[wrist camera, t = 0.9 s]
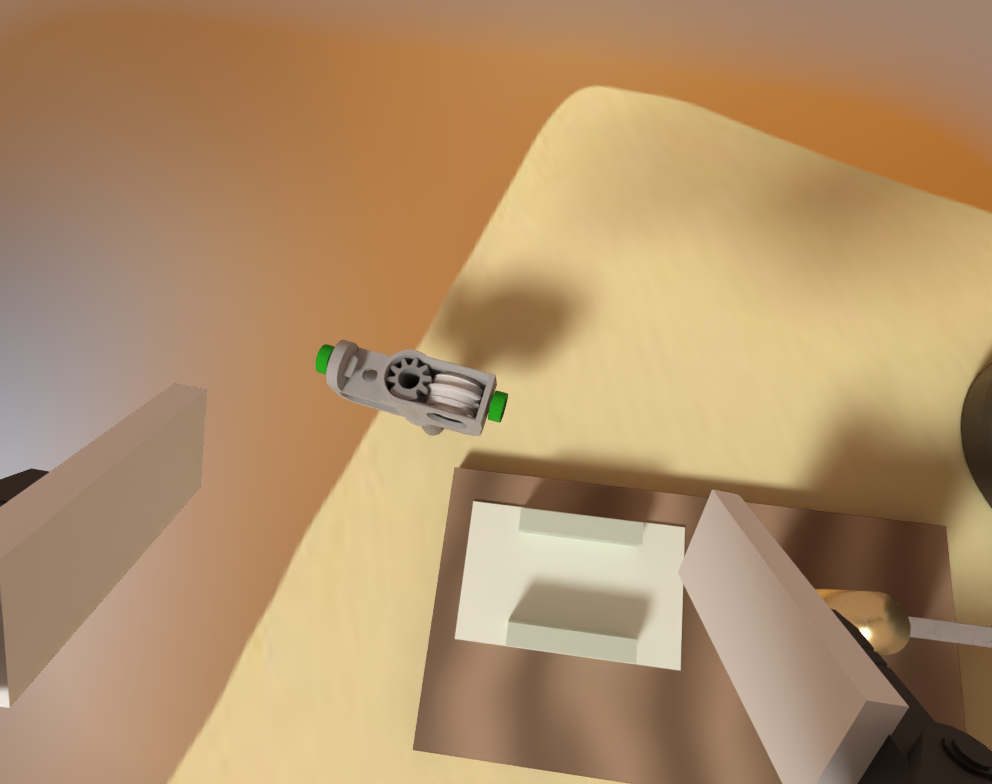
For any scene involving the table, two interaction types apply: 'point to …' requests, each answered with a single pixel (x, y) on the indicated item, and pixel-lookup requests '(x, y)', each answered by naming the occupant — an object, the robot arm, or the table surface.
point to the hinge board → (646, 629)
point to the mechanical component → (414, 387)
